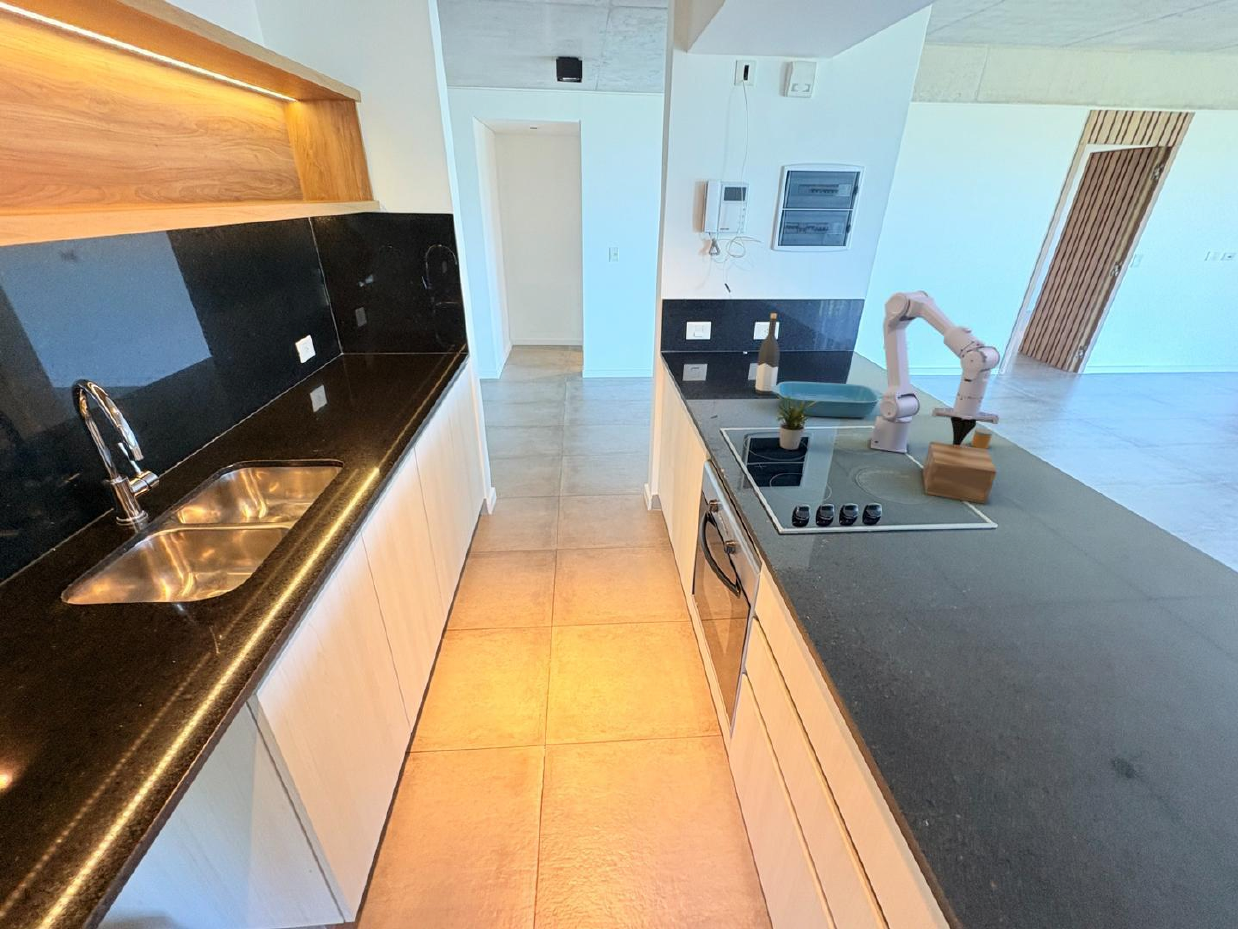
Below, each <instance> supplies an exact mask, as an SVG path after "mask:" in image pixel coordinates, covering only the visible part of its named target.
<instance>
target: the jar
mask: <svg viewBox="0 0 1238 929" xmlns="http://www.w3.org/2000/svg"><path fill="white" fill-rule="evenodd" d="M993 435H994V431H993V430H991V429H988V428H983V427H977V428H974V433H973V437H972V440H971V443H970V445H971V447H975V448H982V449H989V447H990V443H991V441H992V437H993Z"/></svg>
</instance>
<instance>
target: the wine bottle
mask: <svg viewBox="0 0 1238 929" xmlns="http://www.w3.org/2000/svg"><path fill="white" fill-rule="evenodd" d="M777 315H778V314H777V313H774V312H773V313H770V317H769V324H768V325H769V326H768V332H767V335H766V337H765V338H764V340H763V342H762V343H761V345H760V347H759V351H758V356H757V357H758V359H757V366H756V367H757V368H756V376H755V384H754V385H755V386H754V391H755V394H759V395H764V396H770V395H774V394H773V392H772V387H774V386H776V385H777V380H778V372H779V363H780V358H781V357H780V356H781V354H780V353H781V352H780V346H779V343H778V340H777V337H776V327H777V320H778V318H777ZM755 388H756V389H755Z"/></svg>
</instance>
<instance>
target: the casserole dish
mask: <svg viewBox="0 0 1238 929" xmlns="http://www.w3.org/2000/svg"><path fill="white" fill-rule="evenodd" d="M772 392H773V393H774V394H773V395H775V394H776V395H778V396H780V397H781V399H782V400H783V402H784V404H785V407H786V409H787V411H788V413H789V404H788V400H787V397H786V396H787V394H788V396H789V397H790V401H791V403H792V407H793V409H794V406H795V405H796V404H797V403H798V404H797V406H796V409H799V407H800V405H801V403H802V401H803V400H802V399H804V398H805V400H804V404H803V406H802V408H801V410H802V409H804V408H806V407H807V406H808V405H810V404H811V403H813V402H815V401H818V402H816V403H814V404H813V405H812V406H811V407H809V408H808V409H807V410H806V411H805V412H804V413H803V414H802V415H812V416H811V417H828V418H829V417H830V418H848V419H849V418H851V419H853V418H854V419H855V418H865V417H867V416H869V415H871V413H872V412H873V411H874V409H875V408H876V406H877V404H878V402H879V400H880V399H882V394H883V393H882V392H880V391H879V390H877V389H874V388H871V387H869V386H866V385H861V384H856V383H855V384H854V383H837V382H836V383H835V382H815V381H780V382H779V383H778V384H776V386H774V387H772ZM778 396H777V397H778ZM798 396H799V397H798ZM797 398H798V399H797ZM781 399H780V398H779V397H778V401H779V402H781V403H782V401H781ZM796 400H797V401H796ZM799 401H800V402H799ZM781 403H779V405H780V407H781V408H782V410H783V411H785V412H786V410H785V409H784V407H783V406H782V404H781ZM795 403H796V404H795ZM801 410H800V411H801Z"/></svg>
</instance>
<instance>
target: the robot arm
mask: <svg viewBox="0 0 1238 929" xmlns="http://www.w3.org/2000/svg"><path fill="white" fill-rule="evenodd" d="M884 312H885V315H884V319H883V323H882V333H883V343H884V344H883V345H884V354H885V355H884V356H885V363H886V364H885V366H886V378H887V388H886V389H885V391H884V392H883V393H882V398H881V403H880V407H879V410H880V414H881V416H880V415H877V416H876V417H875V422H874V425H873V430H872V433H871V436H870V449H875V450H881V451H888V452H894V453H900V454H907V452H908V450H907V448H908V447H907V441H908V436H909V432H910V428H911V424H912V421H913V419H914V417H915V416H916V415H917V414H919V413H920V410H921V409H922V408H921V406H922V403H921V401H920V400H921V399H920V398H919V397H918V392H917V389H916V388H915V387H913V386H912V385H911V381H910V370H909V369H910V368H909V356H908V345H907V344H908V343H907V333H906V329H907V327H908V326H909V325H910V324H911V323H912V322H913V321H914V320H916V319H917V318H919V319H923V320H924V321H925V322H926V323H927V324H929V325H930V326H931V327H932V328H934V329H935V330H936V331H937V332H939V333H940V335H942V336H943V344H944V345H945V346H946V347H947V348H948V349H949V350H950V351H951V352H952V353H953V354H954V355H955V356H956V357H957V358H958V359H959V361H960V367H961V369H962V372H961V378H960V381H959V386H958V390H957V392H956V396H955V400H954V405H953V407H932V410H931V414H930V415H931V417H933V418H937V417H939V418H948V419H950V421H951V422H950V423H951V427H952V434H953V435H952V437H953V438H952V444H953V445H960V446H962V445H961V444H962V443H963V441H964V440H965V439H966V437H967V436H968V435H969V433H970V432H971V431H973V429H975V427H976V426H977V422H980V423H981V422H982V423H990V424H992V425H998V424H999V420H1000V415H999V414H995V413H989V412H983V411H981V407H982V404H983V401H984V397H985V394H986V390H987V388H988V384H989V380H990V377H991V374H992V370H993V369H995V368H996V367H998V365H999V364H1000V361H1001V355H1000V354H1001V353H1000V352H999V351H998V350H997V348H996V347H995V346H991V345H986V343H985V341H983V340H980V339H979V338H977V336H976V335H975V334H974V333H972V331H973V330H972V328H970V327H969V326H967V327H966V326H964V325H959V326H957V325H956V324H955V323H954V322H953V321H952V320H951V319H950V317H948V316H947V315H946V313H945V312H944V311H943V310H942V309H941V308H940V307H939V306H938V305H937V303H936V302H935V298H934V297H932V296H930V295H929V293H928V292H926V291H925V290H916V291H908V292H899V291H898V292H895V293H893V294H892V295H891V296H889V298H888V300H887V301H886V302H885V303H884Z"/></svg>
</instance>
